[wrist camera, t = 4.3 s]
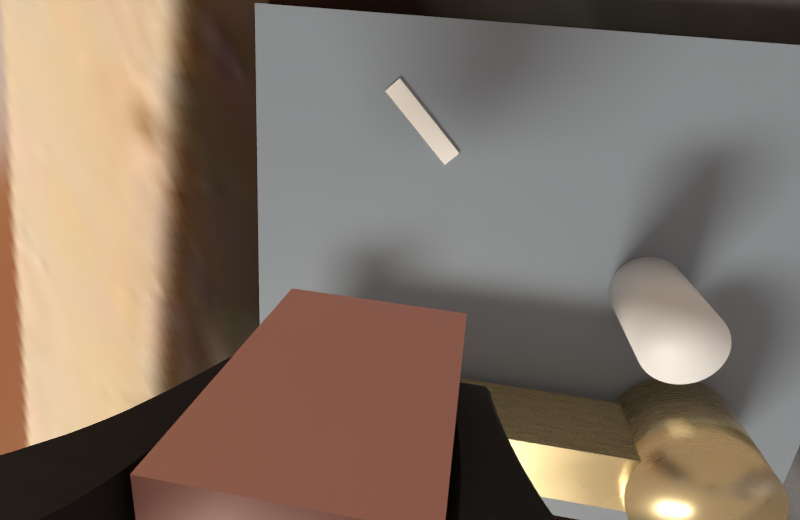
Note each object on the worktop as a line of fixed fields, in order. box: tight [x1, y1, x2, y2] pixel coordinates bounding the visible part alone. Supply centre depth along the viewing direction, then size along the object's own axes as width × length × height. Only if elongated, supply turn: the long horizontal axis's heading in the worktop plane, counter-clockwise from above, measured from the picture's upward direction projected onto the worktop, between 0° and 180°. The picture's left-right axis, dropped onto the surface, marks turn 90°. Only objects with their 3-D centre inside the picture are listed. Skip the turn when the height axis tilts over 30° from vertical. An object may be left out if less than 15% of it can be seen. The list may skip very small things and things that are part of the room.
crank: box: [460, 378, 789, 520], centre depth 18 cm, size 15×4×4 cm, turn 86°
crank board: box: [255, 3, 800, 520], centre depth 18 cm, size 20×18×5 cm
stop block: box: [130, 288, 467, 520], centre depth 10 cm, size 4×4×6 cm
